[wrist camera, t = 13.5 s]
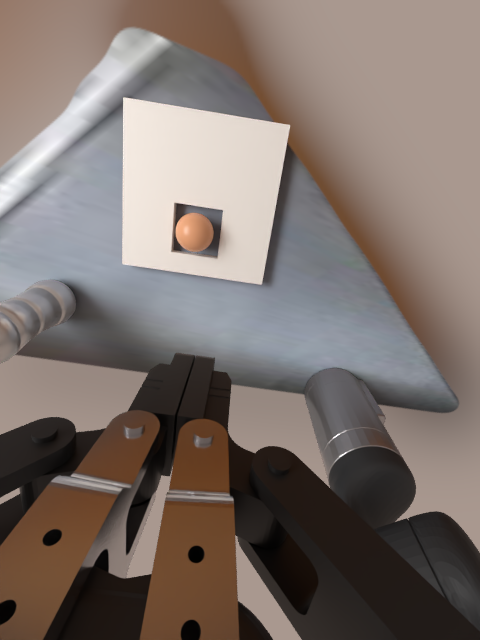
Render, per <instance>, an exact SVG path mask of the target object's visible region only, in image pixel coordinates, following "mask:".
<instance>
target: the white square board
mask: <svg viewBox="0 0 480 640" xmlns="http://www.w3.org/2000/svg"><path fill="white" fill-rule="evenodd" d="M289 129H290V125H286V124H280V123H274V122H268V121H262V120H256V119H250V118H244V117H238V116H232V115H226V114H220V113H214V112H208V111H202V110H196V109H190V108H184V107H178V106H172V105H166V104H160V103H154V102H148V101H142V100H136V99H130V98H124V97H123V256H122V264H125V265H132V266H139V267H146V268H152V269H159V270H166V271H173V272H179V273H186V274H193V275H200V276H206V277H213V278H220V279H227V280H233V281H240V282H247V283H253V284H260V285H262V281H263V275H264V270H265V264H266V258H267V253H268V247H269V242H270V236H271V230H272V225H273V219H274V214H275V208H276V202H277V197H278V191H279V186H280V180H281V174H282V169H283V163H284V158H285V152H286V146H287V141H288V135H289ZM177 203H181V204H187V205H193V206H200V207H206V208H213V209H219V210H223V217H222V226H221V234H220V242H219V251H218V257H216V256H210V255H203V254H196V253H190V252H183V251H177V250H174V236H175V220H176V205H177Z"/></svg>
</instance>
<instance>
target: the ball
mask: <svg viewBox="0 0 480 640" xmlns="http://www.w3.org/2000/svg"><path fill="white" fill-rule="evenodd" d="M213 235H214V231H213V226H212V224H211V222H210V221H209V219H208V218H206V217H205V216H204V215H202V214H199V213H189V214H186V215H184V216H183V217H182V218H181V219H180V220H179V221H178V223H177V226H176V238H177V240H178V242H179V244H180V245H181V246H182V247H183V248H185V249H186V250H188V251H192V252H199V251H202V250H204V249H206V248H207V247H208V246H209V245H210V244H211V242H212V240H213Z"/></svg>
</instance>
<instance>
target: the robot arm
mask: <svg viewBox="0 0 480 640" xmlns="http://www.w3.org/2000/svg"><path fill="white" fill-rule="evenodd" d="M214 363H215V358H211V357H204V356H196V358H195V355H189V354H182V353H176V354H175V356H174V358H173V360H172V362H171V365H167V364H158V365H157V366H155V367H154V368H153V369H151V370H150V371H149V373H148V375H147V377H146V380H145V381H144V382H143V384H142V387H141V388H140V390H139V392H138V394H137V395H136V397H135V399H134V401H133V403H132V404H131V406H130V408H129V410H128V411H127V412H124V413H122V414H119V415H118V416H116V417H115V418H114V419H112V421H111V422H110V423H109V425H108V426H107V427H106V428H105V429H101V430H94V431H85V432H76V429H75V426H74V424H73V423H72V422H71V421H69V420H67V419H65V418H60V417H49V418H43V419H39V420H37V421H34V422H31V423H29V424H26V425H24V426H21V427H19V428H16V429H14V430H11V431H9V432H6V433H4V434H1V435H0V497H2V496H4V495H5V494H8V493H10V492H11V491H13V490H15V489H17V488H20V494H19V495H17V496H15V497H14V498H12V499H10V500H8V501H6V502H4V503H2V504H0V640H273V639H272V637H271V636H270V634H269V633H268V631H267V630H266V629H265V627H264V626H263V625H262V623H261V622H260V621H259V620H258V619H257V617H256V616H255V615H254V614H253V613H252V612H251V611H250V610H249V609H247V608H246V607H245V606H244V605H243V604H242V603H240V602H239V601H238V597H237V596H238V595H237V569H236V543H235V535H236V536H237V537H238V542H239V545H240V547H241V548H242V550H243V552H244V553H245V555H246V556H247V557H248V559H249V561H250V562H251V563H252V565H253V567H254V568H255V570H256V571H257V573H258V574H259V576H260V577H261V579H262V580H263V582H264V583H265V585H266V586H267V588H268V589H269V591H270V592H271V594H272V595H273V596H274V598H275V600H276V601H277V603H278V604H279V606H280V607H281V609H282V610H283V612H284V613H285V615H286V616H287V618H288V619H289V621H290V622H291V624H292V625H293V627H294V628H295V630H296V631H297V633H298V634H299V636H300V637H301V639H302V640H480V553H479V551H478V550H477V548H476V547H475V545H474V544H473V542H472V541H471V540H470V538H469V537H468V535H467V534H466V533H465V532H464V530H463V529H462V528H461V527H460V526H459V525H458V524H457V523H456V522H455V521H454V520H453V519H452V518H451V517H449V516H448V515H446V514H444V513H442V512H428V513H423V514H419V515H416V516H413V517H410V518H408V519H409V521H408V519H403V520H400V521H397V522H395V521H396V520H397V519H398V518H399V517H400V516H401V515H402V514H403V513H405V511H406V510H407V509H408V508H409V507H410V505H411V504H412V502H413V500H414V497H415V493H416V485H415V480H414V477H413V475H412V473H411V471H410V469H409V468H408V466H407V464H406V463H405V461H404V459H403V457H402V456H401V454H400V452H399V451H398V449H397V447H396V446H395V444H394V442H393V441H392V439H391V437H390V436H389V434H388V432H387V430H386V429H385V427H384V425H383V424H384V422H385V416H384V414H383V413H382V411H381V409H380V408H379V406H378V404H377V403H376V401H375V399H374V398H373V396H372V395H371V393H370V391H369V390H368V388H367V386H366V385H365V383H364V382H363V380H360V379H357V378H355V377H354V376H353V375H352V374H351V373H350V372H348V371H346V370H343V369H338V368H330V369H325V370H322V371H320V372H318V373H316V374H315V375H313V376H312V377H311V378H310V380H309V381H308V382H307V384H306V387H305V392H304V394H305V400H306V404H307V407H308V410H309V414H310V418H311V421H312V425H313V428H314V432H315V435H316V439H317V443H318V446H319V449H320V453H321V456H322V460H323V464H324V467H325V471H326V474H327V478H328V481H329V485H330V488H331V489H330V488H329V487H328V486H327V485H326V484H325V483H324V482H323V481H322V480H321V479H320V478H319V477H318V476H317V475H316V474H314V472H313V471H311V469H309V468H308V467H307V466H306V465H305V464H304V463H303V462H302V461H301V460H300V459H299V458H298V457H297V456H296V455H295V454H293V453H292V452H290V451H288V450H286V449H284V448H281V447H275V446H268V447H264V448H262V449H260V450H258V451H257V452H256V453H252V452H250V451H248V450H245V449H243V448H241V447H240V446H238V445H237V444H236V443H234V441H233V440H232V439H231V437H230V436H229V433H228V417H229V406H230V394H231V382H232V381H231V379H230V377H229V376H228V374H227V373H226V372H218V371H214ZM172 466H173V469H172ZM171 470H172V475H171V481H170V486H169V492H167V495H166V499H165V504H164V509H163V515H162V520H161V526H160V532H159V537H158V542H157V548H156V553H155V559H154V564H153V570H152V574H150V575H144V576H138V577H133V578H126V576H127V572H128V569H129V565H130V562H131V560H132V557H133V555H134V552H135V549H136V547H137V544H138V542H139V539H140V536H141V534H142V531H143V529H144V526H145V524H146V521H147V518H148V516H149V513H150V511H151V508H152V506H153V503H154V500H155V495H156V490H157V487H158V484H159V481H160V478H161V475H163V476H170V474H171Z"/></svg>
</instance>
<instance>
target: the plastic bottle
mask: <svg viewBox="0 0 480 640" xmlns="http://www.w3.org/2000/svg"><path fill="white" fill-rule="evenodd" d="M75 309H76V299H75V296H74V294H73V292H72V291H71V289H70V288H69V287H68V286H66V285H65V284H63V283H62V282H60V281H57V280H43V281H38V282H36V283H34V284H33V285H31V286H30V287H29V288H28V289H26V290H25V291H24V292H22V293H20V294H19V295H17V296H15V297H14V298H11V299H8V300H5V301H2V302H0V363H3V362H5V361H8V360H9V359H10V358H11V357H13V356H14V355H15V354H16V353H17V352H18V351H19V350H20V349H21V348H22V347H23V346H24V345H25V344H26V343H27V342H28V341H30V340H31V339H32V338H34V337H35V336H36V335H38V334H39V333H40V332H42V331H44V330H46V329H48V328H50V327H53V326H57V325H59V324H61V323H64V322H66V321H67V320H68V319H69V318H70V317H71V316H72V314H73V313H74V311H75Z"/></svg>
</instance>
